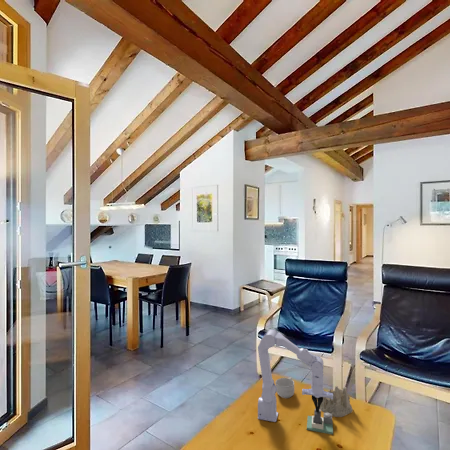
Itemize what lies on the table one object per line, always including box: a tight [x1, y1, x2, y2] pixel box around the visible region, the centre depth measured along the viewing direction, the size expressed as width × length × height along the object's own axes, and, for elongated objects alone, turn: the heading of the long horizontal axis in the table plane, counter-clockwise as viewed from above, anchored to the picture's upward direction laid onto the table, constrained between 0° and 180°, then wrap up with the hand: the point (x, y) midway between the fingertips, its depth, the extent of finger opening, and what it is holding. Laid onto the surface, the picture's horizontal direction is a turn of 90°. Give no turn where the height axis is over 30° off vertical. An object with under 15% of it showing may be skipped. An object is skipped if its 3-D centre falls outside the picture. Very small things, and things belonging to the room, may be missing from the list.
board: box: [306, 412, 334, 435], centre depth 154 cm, size 12×10×4 cm
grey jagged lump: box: [317, 385, 353, 418], centre depth 169 cm, size 16×16×15 cm
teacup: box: [274, 376, 295, 399], centre depth 182 cm, size 14×11×8 cm
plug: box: [313, 408, 322, 424], centre depth 153 cm, size 3×4×7 cm
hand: (317, 410), depth 153 cm, fingers closed
